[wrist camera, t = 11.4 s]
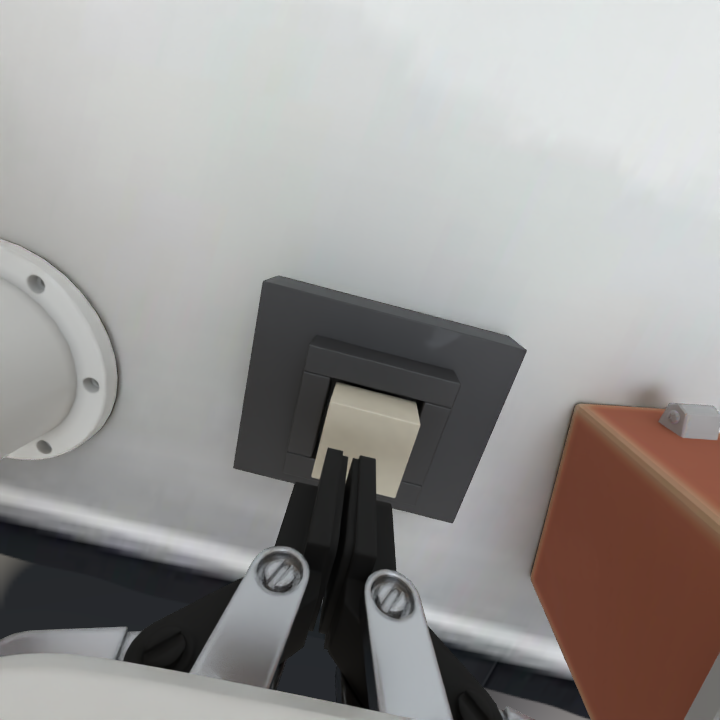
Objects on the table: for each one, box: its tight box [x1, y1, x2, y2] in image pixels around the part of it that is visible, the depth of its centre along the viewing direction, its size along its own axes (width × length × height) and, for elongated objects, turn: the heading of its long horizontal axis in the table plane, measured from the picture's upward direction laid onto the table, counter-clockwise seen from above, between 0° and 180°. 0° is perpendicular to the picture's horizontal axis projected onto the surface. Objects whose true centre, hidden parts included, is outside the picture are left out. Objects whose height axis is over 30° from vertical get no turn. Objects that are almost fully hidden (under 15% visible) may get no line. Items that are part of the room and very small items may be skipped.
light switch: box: [233, 276, 527, 523], centre depth 18 cm, size 12×10×4 cm
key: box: [311, 382, 420, 498], centre depth 15 cm, size 4×4×2 cm
